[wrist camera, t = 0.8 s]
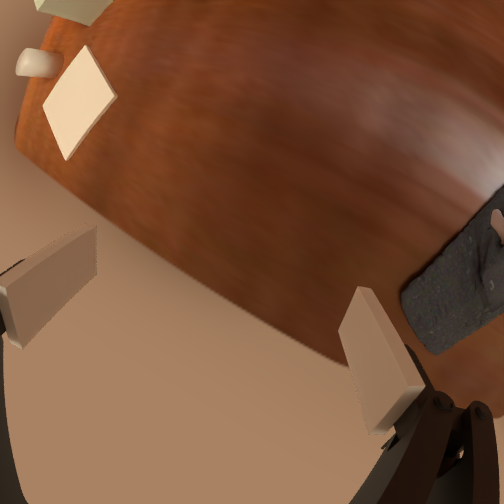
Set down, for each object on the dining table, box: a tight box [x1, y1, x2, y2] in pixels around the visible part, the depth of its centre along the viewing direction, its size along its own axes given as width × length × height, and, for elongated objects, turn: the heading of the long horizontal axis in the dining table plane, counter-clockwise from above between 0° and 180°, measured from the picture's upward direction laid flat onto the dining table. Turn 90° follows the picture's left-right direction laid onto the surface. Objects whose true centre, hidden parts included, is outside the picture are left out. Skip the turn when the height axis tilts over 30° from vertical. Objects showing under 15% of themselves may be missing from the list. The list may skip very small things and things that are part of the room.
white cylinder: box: [16, 48, 64, 79], centre depth 31 cm, size 5×5×8 cm
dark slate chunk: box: [400, 187, 504, 355], centre depth 25 cm, size 15×22×5 cm
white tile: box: [43, 45, 118, 161], centre depth 35 cm, size 14×14×1 cm
